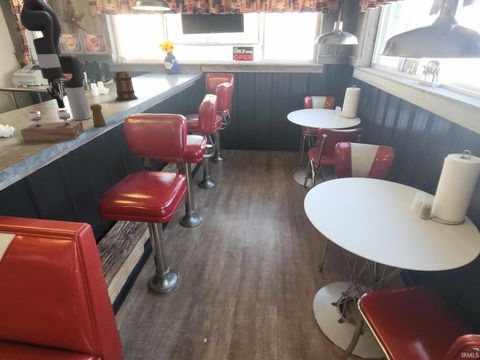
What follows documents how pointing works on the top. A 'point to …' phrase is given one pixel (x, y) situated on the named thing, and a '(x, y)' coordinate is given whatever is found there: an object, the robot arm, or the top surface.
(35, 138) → the console
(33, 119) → the knob
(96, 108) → the cork
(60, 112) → the knob
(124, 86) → the tankard
